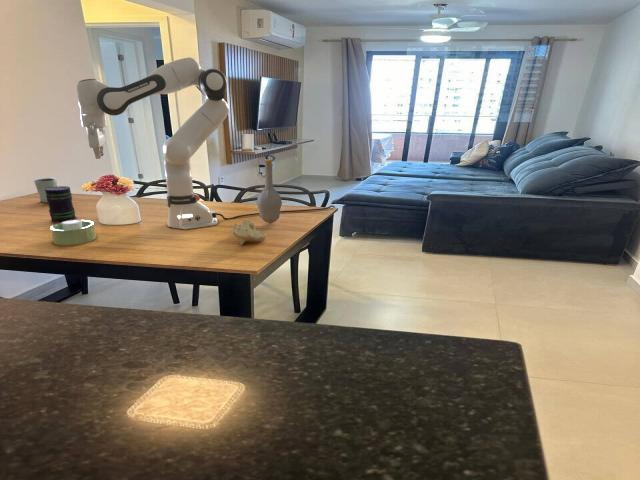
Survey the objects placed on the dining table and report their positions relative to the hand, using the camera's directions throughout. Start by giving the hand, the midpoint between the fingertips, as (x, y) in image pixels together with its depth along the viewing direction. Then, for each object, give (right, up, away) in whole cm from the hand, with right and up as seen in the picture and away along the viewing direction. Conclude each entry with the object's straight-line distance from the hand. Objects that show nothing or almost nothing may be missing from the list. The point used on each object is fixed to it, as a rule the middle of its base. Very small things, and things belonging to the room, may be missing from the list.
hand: (99, 157), depth 158 cm
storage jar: (-30, -25, +22) cm, 45 cm away
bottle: (+68, -27, +23) cm, 76 cm away
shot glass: (-7, -34, -5) cm, 35 cm away
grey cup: (-61, -12, +57) cm, 84 cm away
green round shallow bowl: (-7, -34, -4) cm, 35 cm away
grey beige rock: (+62, -36, -5) cm, 72 cm away
